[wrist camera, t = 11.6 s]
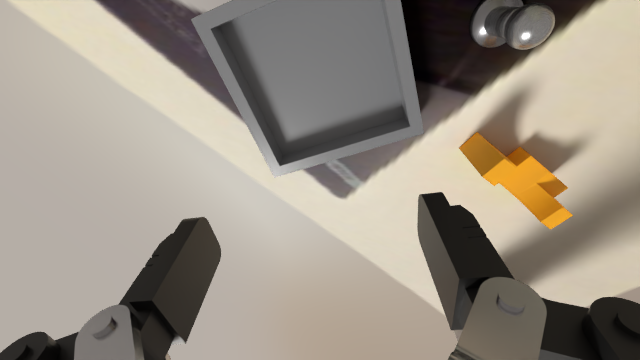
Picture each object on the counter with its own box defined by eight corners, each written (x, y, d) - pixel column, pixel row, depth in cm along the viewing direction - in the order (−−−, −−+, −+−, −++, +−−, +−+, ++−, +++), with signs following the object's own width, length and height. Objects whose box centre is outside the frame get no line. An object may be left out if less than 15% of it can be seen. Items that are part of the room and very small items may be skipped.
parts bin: (415, 120, 32) (424, 133, 30) (278, 162, 36) (274, 177, 33) (381, -64, 24) (388, -71, 21) (205, 16, 27) (190, 19, 24)
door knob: (518, 36, 28) (571, 49, 22) (470, 52, 28) (508, 69, 22) (519, -16, 25) (578, -18, 19) (467, 3, 26) (507, 7, 20)
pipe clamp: (550, 173, 36) (589, 205, 31) (519, 195, 38) (550, 229, 33) (489, 119, 32) (521, 145, 27) (458, 147, 34) (482, 176, 29)
